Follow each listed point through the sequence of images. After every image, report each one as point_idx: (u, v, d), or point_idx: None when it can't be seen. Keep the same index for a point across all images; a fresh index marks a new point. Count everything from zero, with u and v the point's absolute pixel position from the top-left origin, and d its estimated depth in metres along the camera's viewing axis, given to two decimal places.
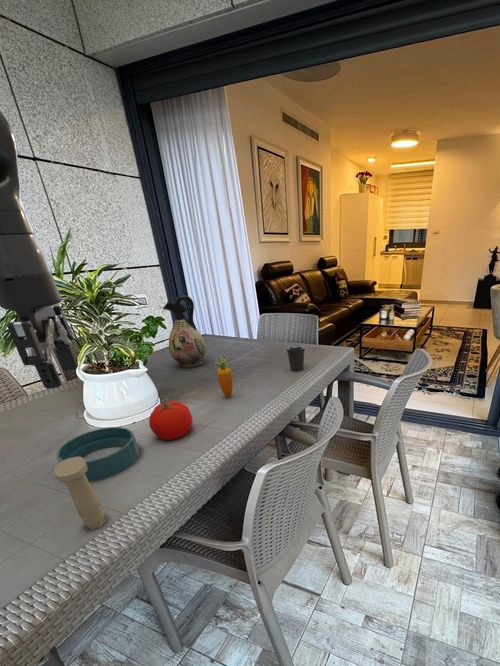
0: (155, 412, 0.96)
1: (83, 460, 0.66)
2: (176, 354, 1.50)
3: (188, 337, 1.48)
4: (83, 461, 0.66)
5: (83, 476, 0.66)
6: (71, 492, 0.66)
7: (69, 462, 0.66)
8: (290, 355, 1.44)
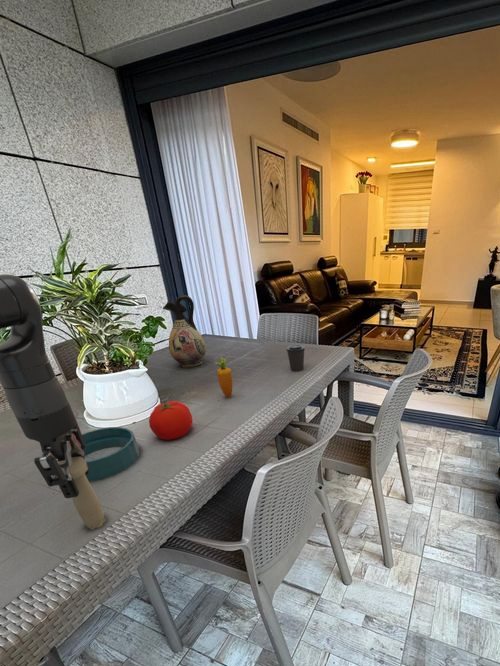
0: (155, 412, 0.96)
1: (83, 460, 0.66)
2: (176, 354, 1.50)
3: (188, 337, 1.48)
4: (83, 461, 0.66)
5: (83, 476, 0.66)
6: None
7: None
8: (290, 355, 1.44)
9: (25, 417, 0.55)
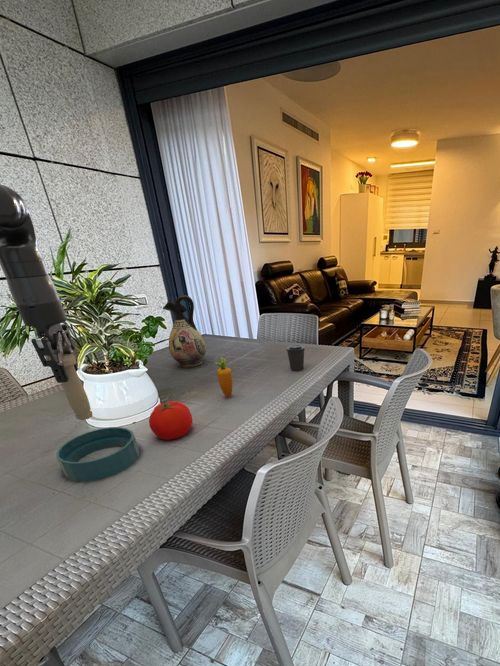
0: (155, 412, 0.96)
1: (73, 355, 0.80)
2: (176, 354, 1.50)
3: (188, 337, 1.48)
4: (73, 355, 0.79)
5: (72, 368, 0.79)
6: None
7: (61, 356, 0.79)
8: (290, 355, 1.44)
9: (24, 304, 0.69)
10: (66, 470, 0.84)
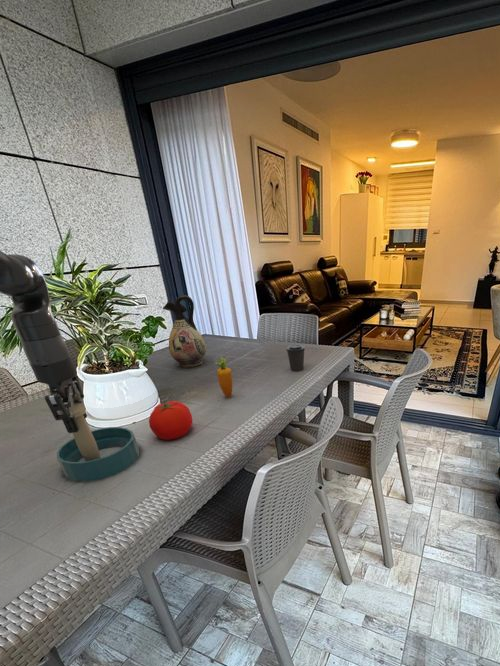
0: (155, 412, 0.96)
1: (82, 405, 0.83)
2: (176, 354, 1.50)
3: (188, 337, 1.48)
4: (82, 405, 0.83)
5: (82, 417, 0.83)
6: None
7: None
8: (290, 355, 1.44)
9: (38, 364, 0.73)
10: (66, 470, 0.84)
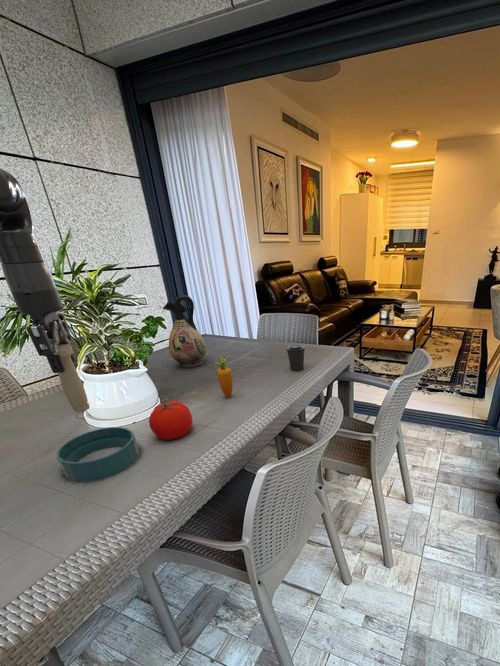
0: (155, 412, 0.96)
1: (69, 345, 0.78)
2: (176, 354, 1.50)
3: (188, 337, 1.48)
4: (69, 345, 0.77)
5: (69, 358, 0.77)
6: None
7: (57, 346, 0.77)
8: (290, 355, 1.44)
9: (19, 291, 0.67)
10: (66, 470, 0.84)
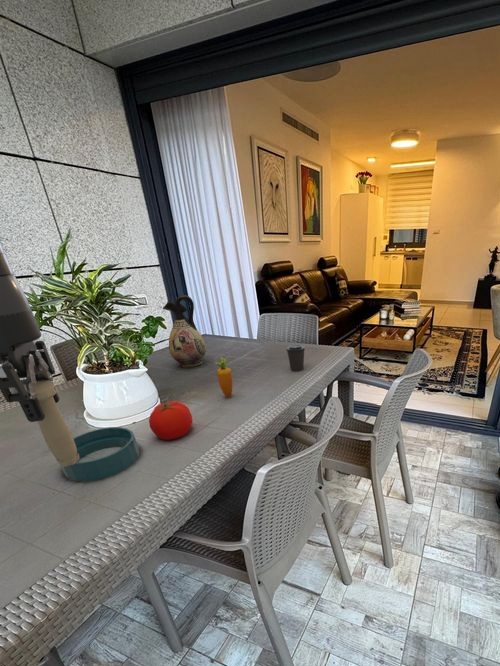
0: (155, 412, 0.96)
1: (51, 382, 0.59)
2: (176, 354, 1.50)
3: (188, 337, 1.48)
4: (51, 383, 0.59)
5: (51, 400, 0.59)
6: None
7: (35, 384, 0.59)
8: (290, 355, 1.44)
9: None
10: (66, 470, 0.84)
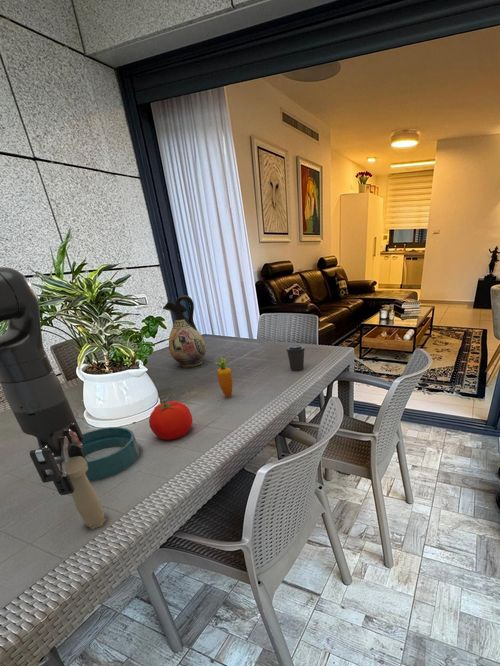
0: (155, 412, 0.96)
1: (83, 460, 0.66)
2: (176, 354, 1.50)
3: (188, 337, 1.48)
4: (83, 461, 0.66)
5: (83, 476, 0.66)
6: None
7: (69, 461, 0.66)
8: (290, 355, 1.44)
9: (22, 412, 0.55)
10: None
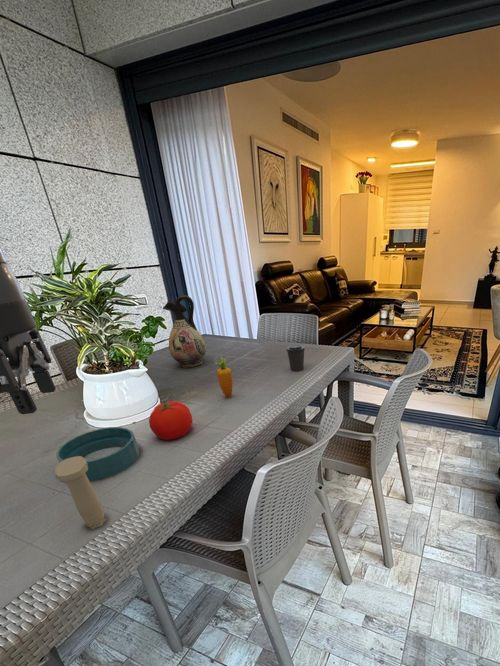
0: (155, 412, 0.96)
1: (84, 460, 0.66)
2: (176, 354, 1.50)
3: (188, 337, 1.48)
4: (84, 461, 0.66)
5: (84, 476, 0.66)
6: (72, 491, 0.66)
7: (69, 461, 0.66)
8: (290, 355, 1.44)
9: None
10: None
